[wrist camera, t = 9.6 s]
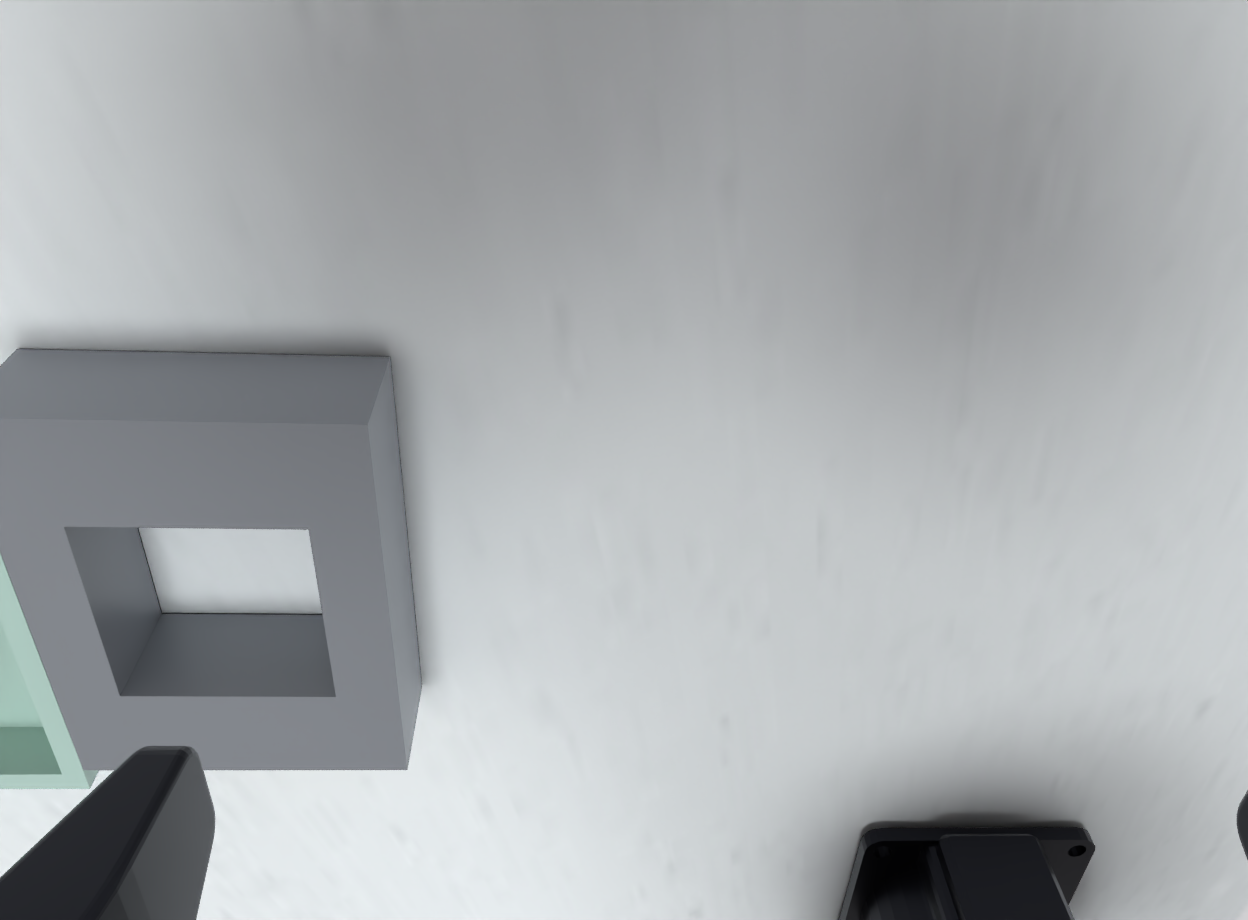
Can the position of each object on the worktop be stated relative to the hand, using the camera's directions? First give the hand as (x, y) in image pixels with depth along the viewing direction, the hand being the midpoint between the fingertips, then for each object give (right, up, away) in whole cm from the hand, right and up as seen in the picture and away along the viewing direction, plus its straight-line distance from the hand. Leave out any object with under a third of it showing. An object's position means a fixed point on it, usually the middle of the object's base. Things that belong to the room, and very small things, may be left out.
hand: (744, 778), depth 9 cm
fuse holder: (-9, +1, +13) cm, 16 cm away
